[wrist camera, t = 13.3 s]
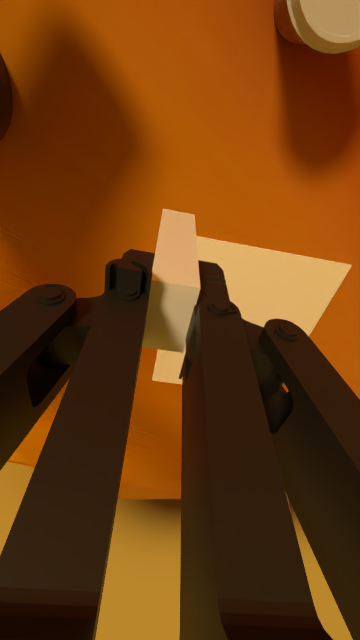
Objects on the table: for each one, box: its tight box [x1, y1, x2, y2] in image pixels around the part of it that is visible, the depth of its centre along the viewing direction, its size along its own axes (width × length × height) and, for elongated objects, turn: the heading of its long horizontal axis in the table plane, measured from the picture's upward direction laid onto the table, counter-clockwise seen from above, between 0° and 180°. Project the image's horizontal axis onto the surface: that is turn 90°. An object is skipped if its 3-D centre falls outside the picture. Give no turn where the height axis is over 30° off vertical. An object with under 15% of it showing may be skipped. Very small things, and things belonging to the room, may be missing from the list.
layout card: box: [152, 236, 351, 384], centre depth 56 cm, size 28×34×1 cm
